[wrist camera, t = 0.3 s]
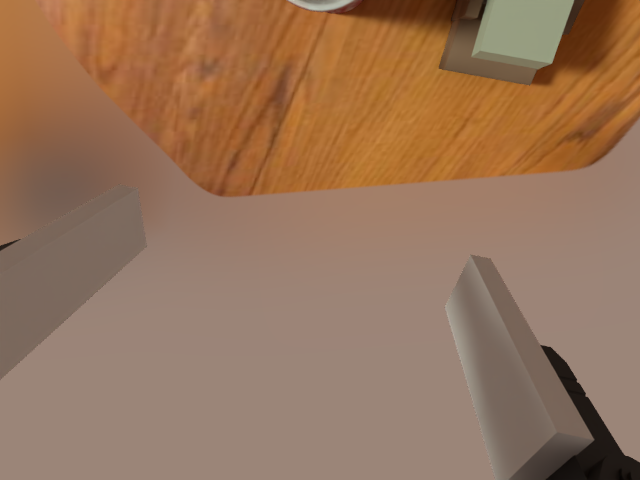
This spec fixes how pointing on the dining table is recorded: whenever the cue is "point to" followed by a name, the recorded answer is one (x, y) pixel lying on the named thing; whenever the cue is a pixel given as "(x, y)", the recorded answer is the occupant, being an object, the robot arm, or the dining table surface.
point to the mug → (327, 5)
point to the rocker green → (522, 31)
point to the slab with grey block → (465, 36)
